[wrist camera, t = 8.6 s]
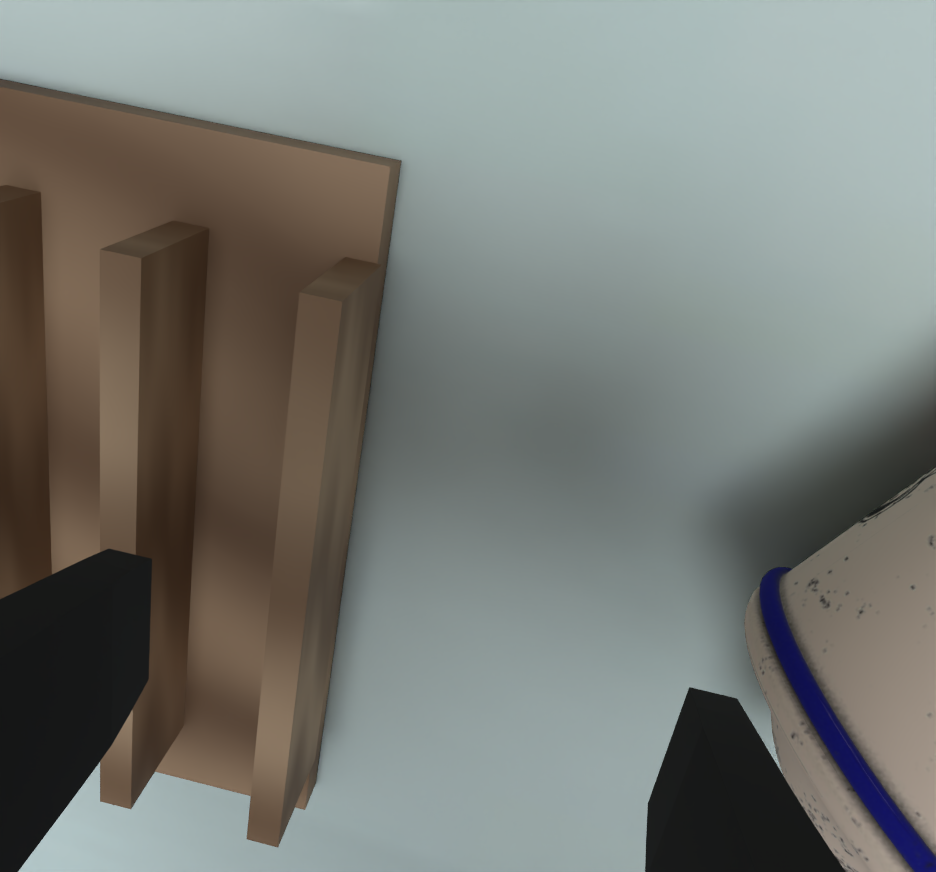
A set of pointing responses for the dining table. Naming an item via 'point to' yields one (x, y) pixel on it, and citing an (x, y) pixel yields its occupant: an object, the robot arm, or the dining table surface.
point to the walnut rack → (192, 412)
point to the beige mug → (858, 683)
